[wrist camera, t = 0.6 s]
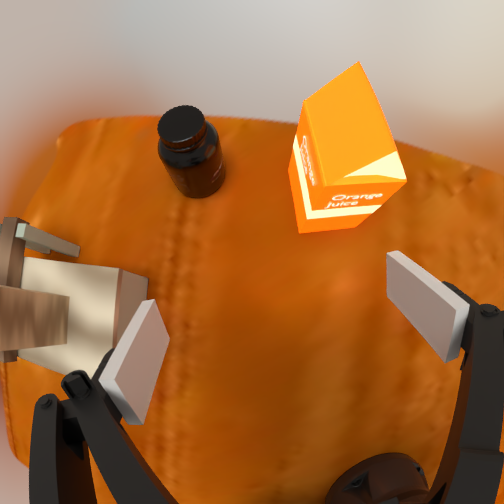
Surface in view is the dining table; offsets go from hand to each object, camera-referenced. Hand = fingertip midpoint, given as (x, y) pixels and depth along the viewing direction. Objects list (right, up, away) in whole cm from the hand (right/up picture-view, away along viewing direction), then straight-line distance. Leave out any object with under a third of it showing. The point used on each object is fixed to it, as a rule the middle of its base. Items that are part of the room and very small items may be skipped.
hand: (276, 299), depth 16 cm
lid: (-24, -4, +11) cm, 26 cm away
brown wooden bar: (-30, -2, +10) cm, 31 cm away
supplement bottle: (-8, +13, +22) cm, 27 cm away
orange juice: (+8, +9, +21) cm, 25 cm away
